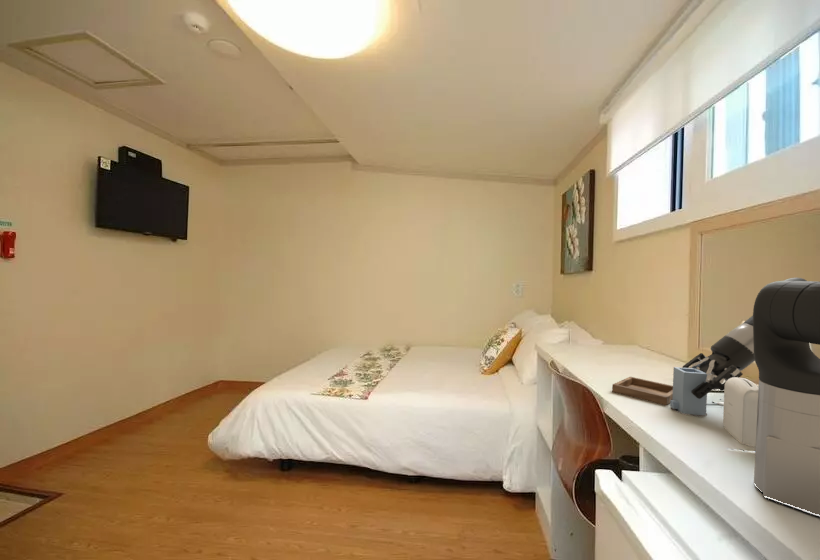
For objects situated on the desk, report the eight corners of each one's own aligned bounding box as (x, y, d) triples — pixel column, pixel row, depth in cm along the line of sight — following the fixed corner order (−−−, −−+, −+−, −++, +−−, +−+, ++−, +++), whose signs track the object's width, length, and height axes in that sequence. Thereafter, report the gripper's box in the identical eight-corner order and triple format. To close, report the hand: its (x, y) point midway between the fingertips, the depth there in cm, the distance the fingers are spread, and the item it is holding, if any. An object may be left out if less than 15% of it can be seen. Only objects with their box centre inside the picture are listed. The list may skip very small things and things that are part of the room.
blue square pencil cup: (706, 415, 87) (707, 374, 86) (676, 412, 88) (678, 371, 88) (694, 407, 92) (696, 368, 91) (666, 405, 93) (668, 366, 93)
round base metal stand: (714, 419, 85) (715, 395, 85) (679, 416, 87) (680, 393, 87) (697, 408, 92) (697, 386, 92) (665, 405, 94) (666, 384, 94)
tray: (666, 407, 93) (666, 397, 93) (612, 393, 103) (612, 384, 103) (681, 396, 101) (681, 387, 101) (629, 384, 111) (630, 376, 111)
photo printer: (719, 426, 82) (722, 371, 81) (744, 430, 80) (746, 374, 80) (739, 446, 72) (742, 384, 72) (767, 451, 71) (770, 388, 70)
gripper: (776, 365, 80) (714, 412, 82) (734, 351, 94) (682, 392, 96) (749, 340, 81) (688, 387, 83) (711, 330, 95) (660, 370, 97)
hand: (685, 389), depth 90 cm, fingers open, 8 cm apart
